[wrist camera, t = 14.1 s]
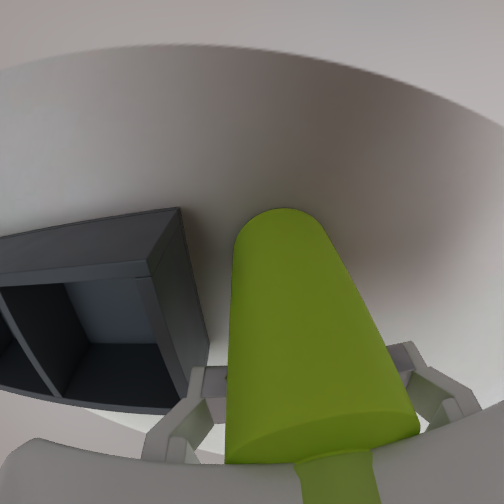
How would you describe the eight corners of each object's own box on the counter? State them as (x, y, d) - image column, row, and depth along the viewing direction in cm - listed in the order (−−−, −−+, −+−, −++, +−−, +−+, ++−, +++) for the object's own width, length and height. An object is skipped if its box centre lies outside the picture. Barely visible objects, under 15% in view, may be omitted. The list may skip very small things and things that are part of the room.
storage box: (-30, 244, 18) (-76, 281, 12) (179, 206, 17) (147, 259, 12) (15, 340, 23) (-15, 385, 17) (209, 344, 22) (200, 416, 16)
